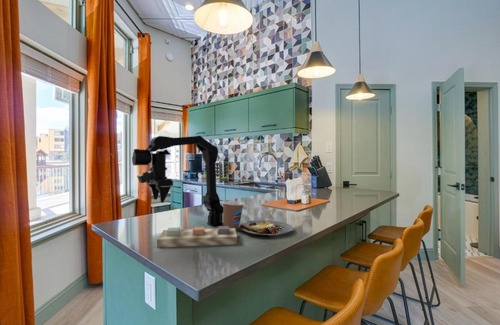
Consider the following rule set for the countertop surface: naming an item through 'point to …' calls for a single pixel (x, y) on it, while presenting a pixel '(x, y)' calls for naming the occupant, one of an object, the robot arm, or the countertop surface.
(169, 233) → the sage green cube
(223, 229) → the charcoal key
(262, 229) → the food plate
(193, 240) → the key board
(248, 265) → the countertop surface
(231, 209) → the coffee cup
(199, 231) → the terracotta key
